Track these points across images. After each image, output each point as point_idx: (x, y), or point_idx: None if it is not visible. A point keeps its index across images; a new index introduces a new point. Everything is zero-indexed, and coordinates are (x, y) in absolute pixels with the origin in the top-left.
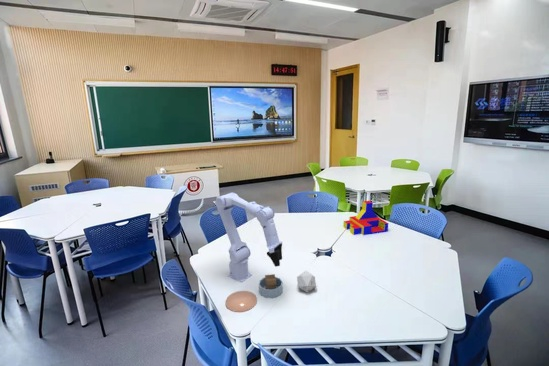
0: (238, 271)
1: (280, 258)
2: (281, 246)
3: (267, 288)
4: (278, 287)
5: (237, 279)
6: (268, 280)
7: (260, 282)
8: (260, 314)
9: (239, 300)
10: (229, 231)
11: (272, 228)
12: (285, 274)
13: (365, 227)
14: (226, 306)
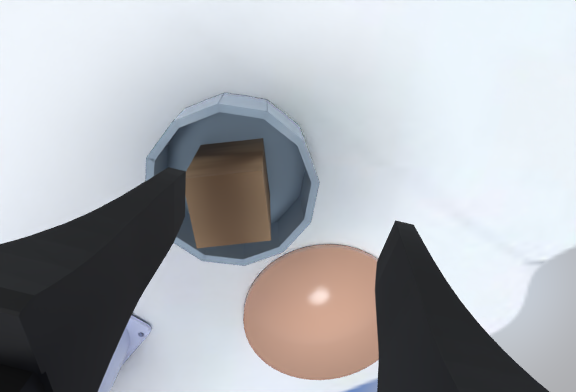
0: (111, 387)
1: (179, 194)
2: (65, 278)
3: (269, 205)
4: (291, 138)
5: (131, 351)
6: (269, 225)
7: (214, 252)
8: (434, 224)
9: (323, 327)
10: None
11: None
12: (25, 55)
13: None
14: (353, 369)
